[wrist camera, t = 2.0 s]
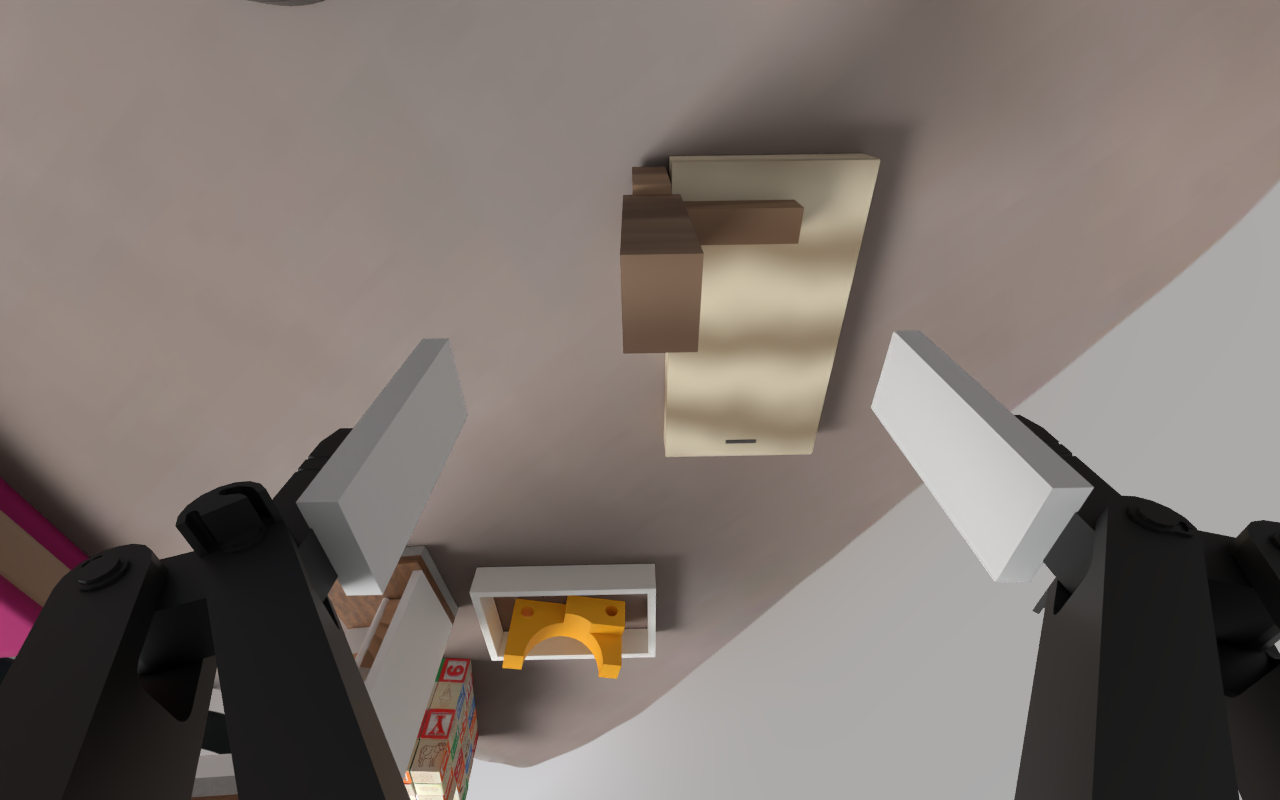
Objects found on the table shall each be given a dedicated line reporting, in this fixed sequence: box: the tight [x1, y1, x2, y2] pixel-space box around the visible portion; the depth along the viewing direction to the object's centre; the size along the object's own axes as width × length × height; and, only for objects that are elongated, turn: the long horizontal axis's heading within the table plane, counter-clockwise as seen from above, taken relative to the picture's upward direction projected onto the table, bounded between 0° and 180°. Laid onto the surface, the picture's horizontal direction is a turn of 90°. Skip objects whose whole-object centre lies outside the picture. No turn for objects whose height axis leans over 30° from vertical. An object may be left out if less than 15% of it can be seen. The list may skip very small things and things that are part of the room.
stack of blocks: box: [403, 658, 478, 800], centre depth 62 cm, size 21×6×12 cm, turn 173°
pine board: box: [664, 153, 881, 457], centre depth 36 cm, size 22×12×3 cm, turn 1°
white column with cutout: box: [191, 545, 458, 800], centre depth 39 cm, size 11×11×35 cm
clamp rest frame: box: [469, 564, 656, 661], centre depth 54 cm, size 13×19×3 cm
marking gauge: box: [620, 167, 804, 353], centre depth 25 cm, size 5×10×16 cm, turn 91°
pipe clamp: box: [502, 595, 625, 679], centre depth 54 cm, size 12×4×6 cm, turn 78°
